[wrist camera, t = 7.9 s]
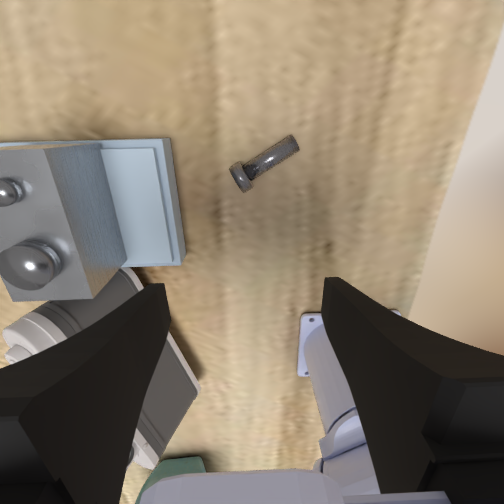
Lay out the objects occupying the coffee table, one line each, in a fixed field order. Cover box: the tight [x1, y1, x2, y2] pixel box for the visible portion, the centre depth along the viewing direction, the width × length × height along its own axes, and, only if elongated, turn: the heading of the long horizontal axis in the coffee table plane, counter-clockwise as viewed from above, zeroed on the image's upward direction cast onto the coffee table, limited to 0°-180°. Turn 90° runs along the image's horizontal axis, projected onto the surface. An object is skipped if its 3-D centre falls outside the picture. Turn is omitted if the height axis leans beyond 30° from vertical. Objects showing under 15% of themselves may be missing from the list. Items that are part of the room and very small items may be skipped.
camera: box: [3, 267, 201, 470], centre depth 22 cm, size 9×16×10 cm, turn 20°
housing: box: [0, 143, 128, 302], centre depth 15 cm, size 4×8×6 cm, turn 1°
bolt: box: [229, 135, 300, 193], centre depth 19 cm, size 5×2×2 cm, turn 121°
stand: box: [0, 138, 186, 267], centre depth 19 cm, size 12×9×2 cm
